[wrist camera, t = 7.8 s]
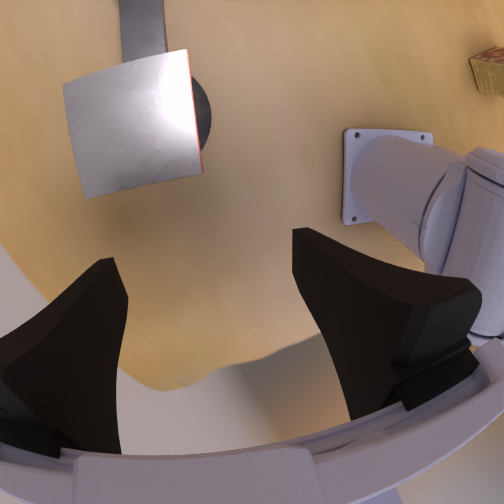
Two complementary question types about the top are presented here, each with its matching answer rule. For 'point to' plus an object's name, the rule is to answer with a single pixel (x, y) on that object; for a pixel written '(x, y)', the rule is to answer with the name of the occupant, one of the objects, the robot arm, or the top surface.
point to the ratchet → (156, 48)
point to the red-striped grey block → (134, 124)
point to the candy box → (489, 71)
